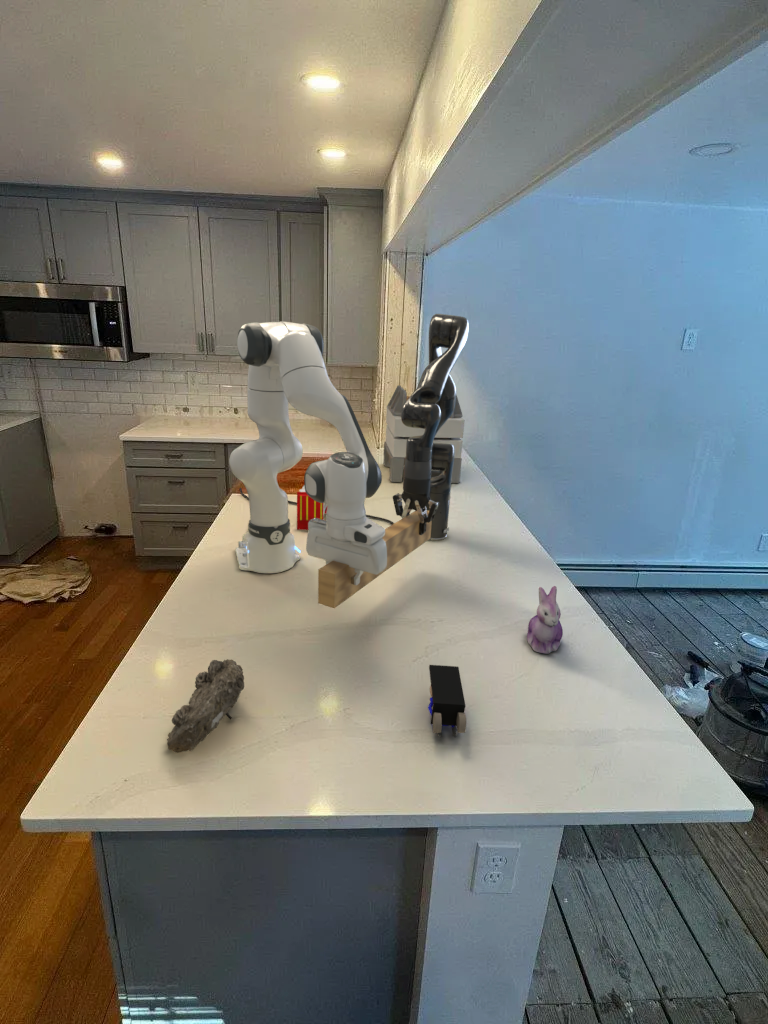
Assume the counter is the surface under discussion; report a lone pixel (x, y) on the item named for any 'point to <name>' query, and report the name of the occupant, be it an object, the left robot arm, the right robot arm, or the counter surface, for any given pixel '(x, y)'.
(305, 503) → the toy
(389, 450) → the grey slatted crate
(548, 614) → the figurine
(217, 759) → the counter surface
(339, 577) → the post
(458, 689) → the black wheeled block
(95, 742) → the counter surface
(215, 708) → the fossil
